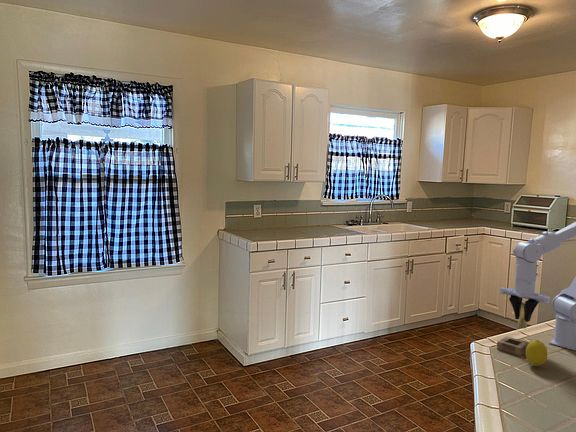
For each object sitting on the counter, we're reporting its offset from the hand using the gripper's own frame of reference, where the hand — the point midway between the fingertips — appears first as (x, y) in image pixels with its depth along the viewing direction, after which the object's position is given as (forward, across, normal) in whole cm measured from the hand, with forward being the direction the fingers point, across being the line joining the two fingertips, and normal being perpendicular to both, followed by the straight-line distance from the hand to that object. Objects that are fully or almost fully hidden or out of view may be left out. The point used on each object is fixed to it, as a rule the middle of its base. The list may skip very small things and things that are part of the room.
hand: (522, 319), depth 144 cm
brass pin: (+2, 0, 0) cm, 2 cm away
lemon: (+9, +10, -14) cm, 19 cm away
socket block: (+8, 0, -6) cm, 10 cm away
